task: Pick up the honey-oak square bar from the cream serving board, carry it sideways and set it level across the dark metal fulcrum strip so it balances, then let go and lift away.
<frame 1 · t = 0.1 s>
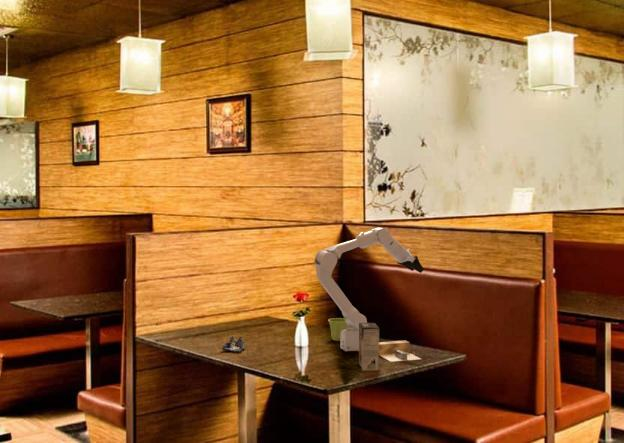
hand: (418, 270, 335), 32 cm above the table, tool tilted 50°, fingers open, 7 cm apart
coffee box: (368, 368, 300), on the table
serving board: (397, 357, 316), on the table
grey irregular piece: (236, 351, 329), on the table
fulcrum strip: (400, 359, 313), resting on serving board
plant pot: (338, 340, 350), on the table
oak bar: (391, 352, 322), point 1 cm above the table, touching serving board
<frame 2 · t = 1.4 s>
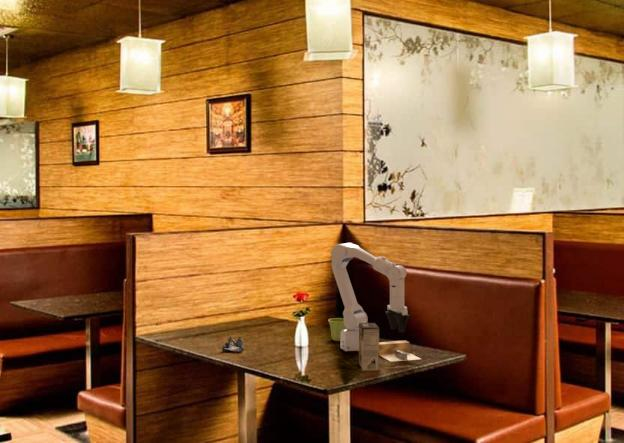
hand: (397, 330, 318), 10 cm above the table, tool pointing down, fingers open, 7 cm apart
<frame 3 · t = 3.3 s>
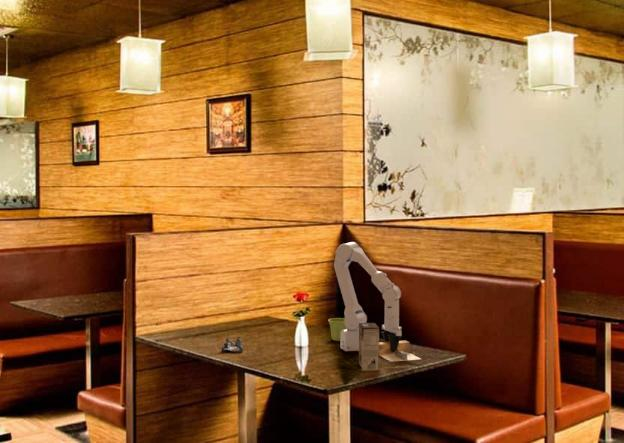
hand: (391, 350, 322), 2 cm above the table, tool pointing down, fingers closed on oak bar, 4 cm apart
oak bar: (391, 352, 322), point 1 cm above the table, touching gripper, serving board
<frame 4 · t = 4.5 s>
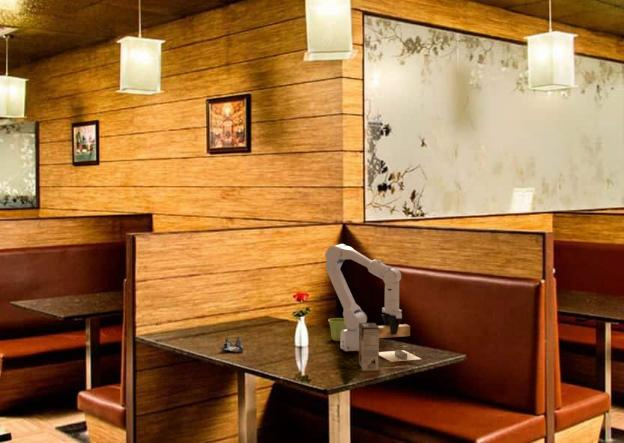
hand: (391, 333, 321), 9 cm above the table, tool pointing down, fingers closed on oak bar, 4 cm apart
oak bar: (391, 336, 321), point 7 cm above the table, touching gripper
when the fingers open (4 cm above the table, at t = 6.5 s): oak bar stays where it is, resting on fulcrum strip.
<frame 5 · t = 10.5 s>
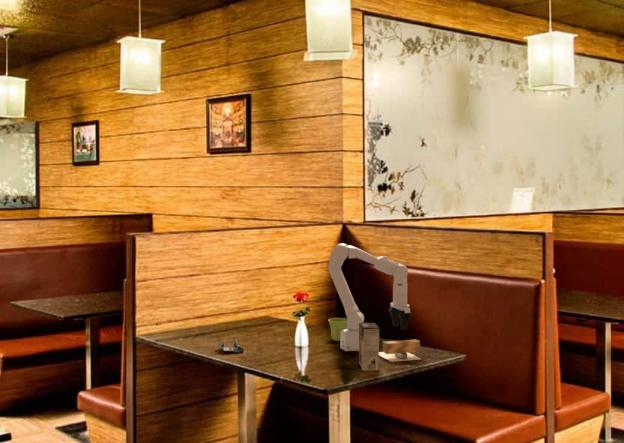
hand: (399, 327, 326), 10 cm above the table, tool pointing down, fingers open, 7 cm apart
grey irregular piece: (230, 352, 327), on the table
oak bar: (401, 351, 313), point 3 cm above the table, touching fulcrum strip
everything else where it was.
at the end: oak bar 0.2 cm off-centre on the fulcrum strip, point 3.0 cm above the fulcrum strip's base; oak bar tilted 0°; oak bar touching fulcrum strip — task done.
